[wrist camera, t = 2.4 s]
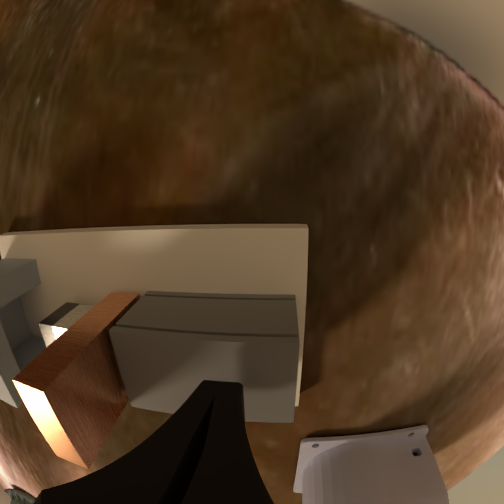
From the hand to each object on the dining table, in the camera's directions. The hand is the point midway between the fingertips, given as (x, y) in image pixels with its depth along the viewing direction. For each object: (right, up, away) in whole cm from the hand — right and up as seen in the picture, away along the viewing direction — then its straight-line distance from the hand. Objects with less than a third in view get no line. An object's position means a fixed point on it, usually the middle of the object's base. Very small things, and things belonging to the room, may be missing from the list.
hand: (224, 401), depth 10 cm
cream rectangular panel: (-6, +2, +6) cm, 9 cm away
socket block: (-13, +1, +6) cm, 15 cm away
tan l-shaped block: (-3, +1, +5) cm, 6 cm away
